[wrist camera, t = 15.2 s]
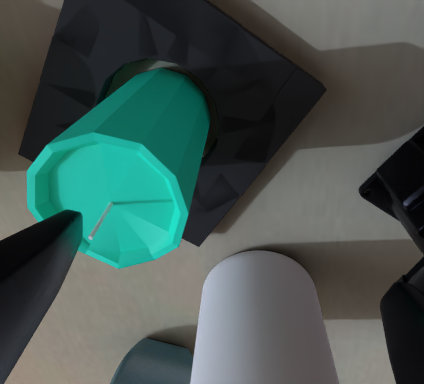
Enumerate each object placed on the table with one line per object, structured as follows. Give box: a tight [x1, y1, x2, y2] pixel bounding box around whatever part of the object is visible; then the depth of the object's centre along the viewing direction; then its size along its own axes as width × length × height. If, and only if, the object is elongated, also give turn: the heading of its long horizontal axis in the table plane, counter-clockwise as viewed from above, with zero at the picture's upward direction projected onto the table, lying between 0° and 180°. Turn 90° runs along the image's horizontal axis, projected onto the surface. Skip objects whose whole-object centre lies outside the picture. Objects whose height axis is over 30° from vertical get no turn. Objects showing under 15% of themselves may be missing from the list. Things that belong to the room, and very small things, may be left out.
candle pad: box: [18, 0, 327, 247], centre depth 20 cm, size 14×14×2 cm
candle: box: [27, 68, 211, 269], centre depth 15 cm, size 6×6×12 cm
